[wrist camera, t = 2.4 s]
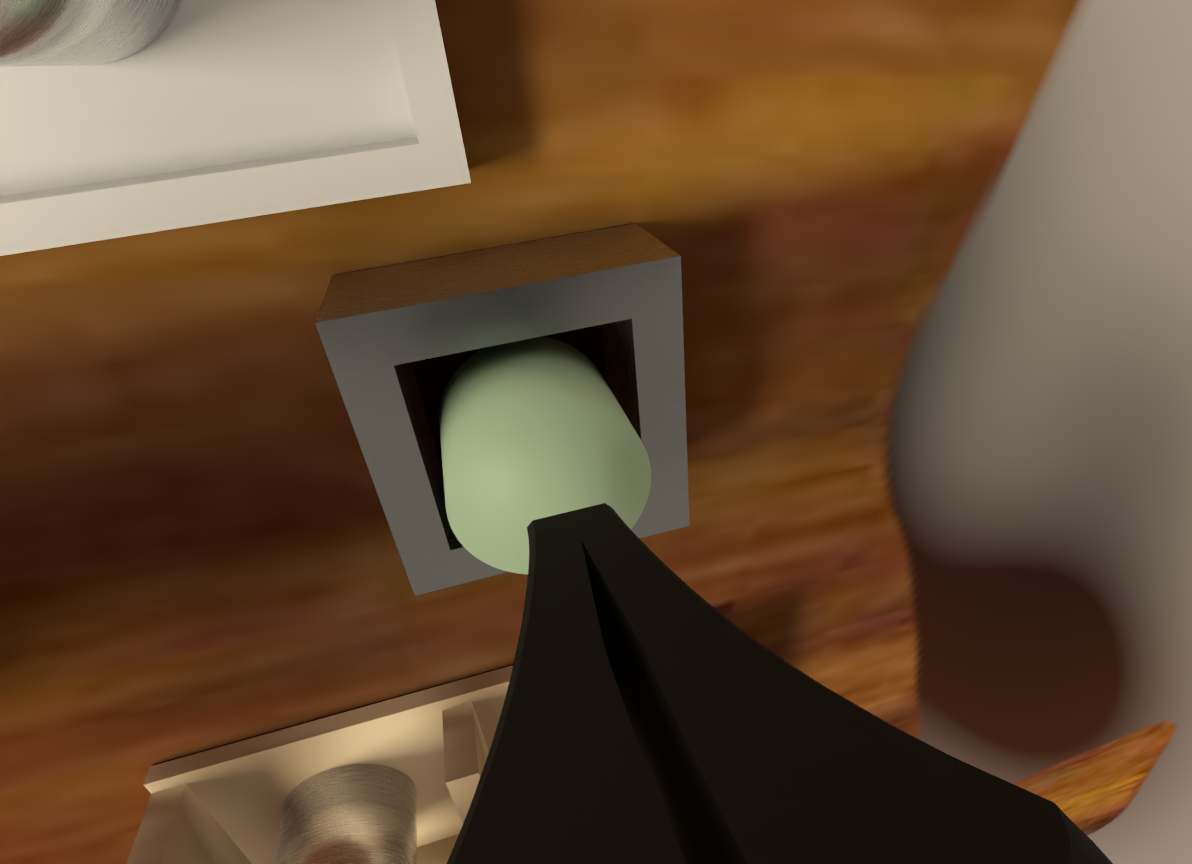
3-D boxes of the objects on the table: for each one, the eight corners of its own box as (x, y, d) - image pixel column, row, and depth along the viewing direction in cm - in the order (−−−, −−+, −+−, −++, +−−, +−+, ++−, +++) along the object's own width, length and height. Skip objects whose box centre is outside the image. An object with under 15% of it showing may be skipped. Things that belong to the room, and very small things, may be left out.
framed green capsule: (414, 519, 17) (414, 595, 15) (332, 275, 14) (314, 322, 11) (652, 463, 19) (689, 525, 16) (635, 222, 15) (680, 255, 12)
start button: (460, 502, 15) (470, 595, 13) (419, 355, 13) (420, 429, 11) (615, 466, 16) (656, 546, 13) (600, 320, 14) (644, 381, 11)
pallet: (261, 895, 24) (243, 993, 22) (150, 766, 20) (110, 873, 17) (715, 751, 27) (747, 822, 25) (715, 608, 23) (754, 679, 20)
